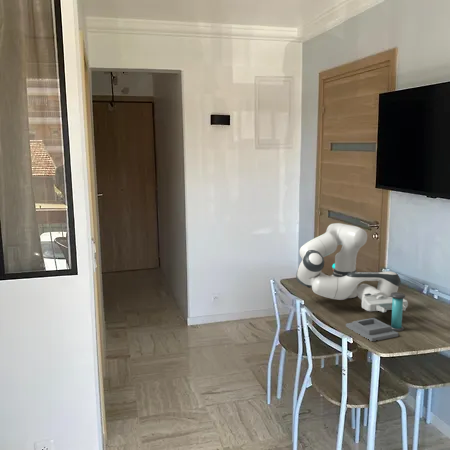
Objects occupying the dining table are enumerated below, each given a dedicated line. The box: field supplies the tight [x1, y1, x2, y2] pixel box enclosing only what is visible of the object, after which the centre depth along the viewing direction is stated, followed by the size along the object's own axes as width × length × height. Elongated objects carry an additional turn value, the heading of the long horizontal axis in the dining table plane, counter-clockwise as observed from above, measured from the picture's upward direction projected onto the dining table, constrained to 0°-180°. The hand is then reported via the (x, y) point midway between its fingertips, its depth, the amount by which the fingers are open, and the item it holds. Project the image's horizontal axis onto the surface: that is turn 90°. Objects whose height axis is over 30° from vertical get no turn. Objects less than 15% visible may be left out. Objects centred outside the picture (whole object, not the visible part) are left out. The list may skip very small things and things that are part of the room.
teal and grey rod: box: [388, 291, 406, 333], centre depth 208 cm, size 6×6×16 cm
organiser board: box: [345, 317, 399, 342], centre depth 207 cm, size 18×14×4 cm
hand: (394, 309), depth 210 cm, fingers open, 8 cm apart
